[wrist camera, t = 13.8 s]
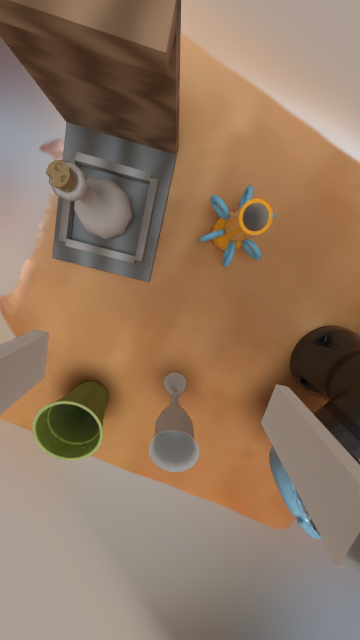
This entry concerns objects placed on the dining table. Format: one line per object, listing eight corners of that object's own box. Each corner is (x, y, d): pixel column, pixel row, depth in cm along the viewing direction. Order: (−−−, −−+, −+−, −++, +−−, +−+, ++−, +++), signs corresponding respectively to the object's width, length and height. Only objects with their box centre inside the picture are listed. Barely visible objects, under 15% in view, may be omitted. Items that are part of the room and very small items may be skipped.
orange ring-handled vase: (209, 190, 39) (229, 145, 24) (264, 207, 39) (316, 173, 25) (190, 259, 41) (198, 256, 27) (242, 274, 42) (277, 279, 28)
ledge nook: (178, 147, 37) (181, -30, 15) (149, 281, 42) (119, 301, 20) (70, 115, 36) (-107, -136, 13) (55, 258, 41) (-90, 250, 19)
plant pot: (130, 399, 49) (116, 438, 38) (90, 426, 50) (66, 471, 39) (94, 359, 46) (69, 389, 35) (53, 389, 48) (16, 426, 37)
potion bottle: (103, 249, 40) (46, 237, 22) (75, 201, 38) (-12, 147, 20) (145, 225, 39) (120, 193, 21) (118, 175, 37) (67, 94, 19)
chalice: (152, 379, 47) (138, 446, 30) (177, 362, 47) (178, 420, 29) (172, 403, 49) (170, 479, 32) (197, 386, 48) (209, 456, 31)
